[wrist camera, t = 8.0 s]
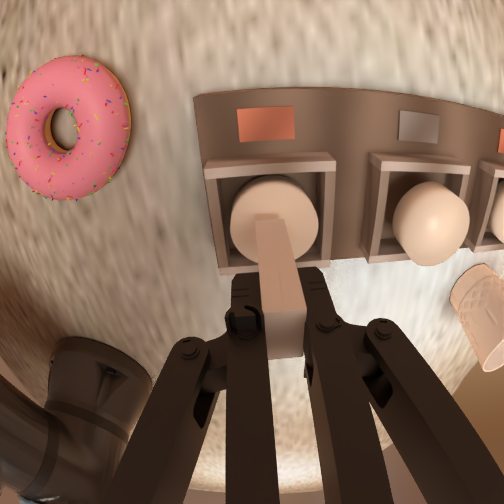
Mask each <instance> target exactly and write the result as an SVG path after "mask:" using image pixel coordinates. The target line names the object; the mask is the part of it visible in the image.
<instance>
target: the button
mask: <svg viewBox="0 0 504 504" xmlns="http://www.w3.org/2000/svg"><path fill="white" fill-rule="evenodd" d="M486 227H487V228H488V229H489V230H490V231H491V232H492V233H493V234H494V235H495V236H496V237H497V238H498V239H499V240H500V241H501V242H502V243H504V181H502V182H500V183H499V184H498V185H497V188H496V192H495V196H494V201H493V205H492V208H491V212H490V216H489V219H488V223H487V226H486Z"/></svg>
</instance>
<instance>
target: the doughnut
mask: <svg viewBox="0 0 504 504" xmlns="http://www.w3.org/2000/svg"><path fill="white" fill-rule="evenodd" d="M82 56H84V55H82ZM82 56H64V57H59V58H55V59H53V60H51V61H49V62H47V63H46V64H44V65H43V66H41V67H40V68H38V69H37V70H35V71H33V73H32V71H31V72H30V76H28V77H27V79H26V80H25V81H24V82H23V83H22V85H21V86H20V85H18V86H19V87H20V88H19V89H18V91H17V93H16V95H15V97H14V99H13V101H12V104H11V107H10V108H9V109H10V110H9V113H8V118H7V126H6V138H7V139H6V142H7V148H8V151H9V156H10V158H11V160H12V163H13V164H12V165H14V167H15V169H14V171H15V170H16V171H17V172H18V174H19V178H20V177H21V178H22V179H23V181H24V182H25V183H26V184H27V185H28V186H29V187H31V188H32V189H33V190H34V191H32V192H35V191H36V193H37V194H42V196H43V195H44V197H45V199H46V198H47V197H49V198H52V200H53V199H57V200H72V199H76V201H77V200H78V198H82V197H85V196H88V195H90V194H92V193H94V192H96V191H98V190H99V189H100V188H102V187H103V186H104V185H105V184H106V183H107V182H108V183H109V182H110V180H112V177H113V175H114V174H115V172H116V171H117V169H119V168H120V167H119V166H120V164H121V163H122V160H123V157H124V155H125V153H126V149H127V146H128V142H129V137H130V130H131V114H130V107H129V103H128V99H127V96H126V94H125V91H124V89H123V87H122V85H121V84H120V82H119V81H118V79H117V78H116V77H115V76H114V74H113V73H112V72H111V71H109V70H108V69H107V68H106V67H104V66H103V65H102V64H101V63H99V62H97V61H95V60H92V59H90V58H86V57H82ZM62 107H64V108H67V109H68V110H69V111H70V113H69V114H71V115H72V117H73V118H75V120H76V123H77V124H75V125H74V126H76V125H77V130H78V137H77V142H76V144H75V146H74V147H73V148H72V149H70V150H68V151H66V150H63V149H61V148H60V147H59V146H58V145H57V144H56V143H55V142H54V140H53V138H52V135H51V130H50V123H51V118H52V115H53V113H54V111H55V110H56V109H57V108H62Z"/></svg>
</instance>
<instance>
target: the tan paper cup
mask: <svg viewBox="0 0 504 504" xmlns="http://www.w3.org/2000/svg"><path fill="white" fill-rule="evenodd" d="M450 302H451V304H452V307H453V308H454V310H455V312H456V314H457V315H458V317H459V321H460V323H461V325H462V327H463V329H464V331H465V333H466V335H467V337H468V339H469V341H470V343H471V345H472V347H473V350H474V352H475V354H476V356H477V358H478V360H479V362H480V365H481V367H482V369H483V371H485V372H490V371H493V370H496V369H498V368H500V367H501V366H503V365H504V281H503V280H502V279H501V278H499V277H498V276H497V274H496V273H495V272H494V271H493V270H492V269H491V268H490V267H488V266H487V265H485V264H481V265H476V266H474V267H472V268H471V269H469V270H467V271H466V272H465V273H464V274H463V275H462V276H461V277H460V278H459V279H458V280H457V282H456V284H455V285H454V287H453V289H452V291H451V296H450Z"/></svg>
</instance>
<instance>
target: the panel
mask: <svg viewBox="0 0 504 504" xmlns="http://www.w3.org/2000/svg"><path fill="white" fill-rule="evenodd" d="M193 100H194V108H195V116H196V124H197V131H198V139H199V146H200V153H201V161H202V168H203V174H204V181H205V188H206V195H207V201H208V208H209V214H210V220H211V226H212V233H213V239H214V245H215V250H216V256H217V262H218V268H219V269H220V275H232V274H237V273H249V272H259V268H258V263H257V262H254V261H252V260H250V259H248V258H247V257H245V256H244V255H243V254H241V252H240V251H239V250H238V249H237V248H236V246H235V245H234V243H233V240H232V238H231V233H230V223H231V212H232V205H233V201H234V199H235V197H236V195H237V193H238V192H239V191H240V190H241V188H243V187H244V186H245V185H246V184H247V183H249V182H250V181H252V180H254V179H256V178H259V177H263V176H269V175H277V176H283V177H287V178H289V179H292V180H293V181H295V182H297V183H298V184H299V185H301V186H302V187H303V189H304V190H305V191H306V193H307V194H308V196H309V198H310V200H311V202H312V205H313V207H314V209H315V211H316V214H317V217H318V232H317V236H316V238H315V241H314V243H313V244H312V246H311V247H310V248H309V250H308V251H307V252H306V253H304V254H303V255H302V256H300V257H299V258H297V259H295V263H296V267H297V268H301V267H312V266H316V267H317V268H325V267H330V260H336V259H348V258H360V257H365V258H366V260H367V262H368V264H370V263H381V262H391V261H401V260H411V259H410V257H409V256H408V254H407V253H406V252H405V250H404V249H403V247H402V246H401V245H400V243H399V242H398V241H397V239H396V237H395V235H394V232H393V226H392V222H393V216H394V212H395V209H396V207H397V205H398V203H399V201H400V200H401V198H402V197H403V196H404V195H405V194H406V193H407V192H408V191H409V190H410V189H411V188H413V187H414V186H416V185H418V184H420V183H423V182H430V181H432V182H437V183H440V184H442V185H443V186H445V187H446V188H447V189H449V190H450V191H451V192H453V193H454V194H455V195H456V196H458V197H459V198H460V199H461V200H463V202H464V203H465V204H466V206H467V208H468V211H469V217H470V220H469V228H468V232H467V235H466V237H465V239H464V241H463V243H462V245H461V246H460V247H459V248H468V247H469V249H470V250H471V251H472V252H473V253H476V252H485V251H493V250H501V249H504V243H502V242H501V241H500V240H499V239H498V238H497V237H496V236H495V235H494V234H493V233H492V232H491V231H490V230H489V229H488V228H487V227H486V226H487V223H488V219H489V216H490V212H491V208H492V205H493V201H494V196H495V192H496V188H497V185H498V184H499V183H500V182H502V181H504V115H500V114H497V113H494V112H490V111H487V110H483V109H479V108H475V107H471V106H467V105H463V104H459V103H454V102H450V101H445V100H440V99H434V98H429V97H423V96H417V95H410V94H403V93H395V92H387V91H377V90H366V89H352V88H331V87H281V88H259V89H245V90H233V91H224V92H215V93H207V94H200V95H198V96H196V97H193Z"/></svg>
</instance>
